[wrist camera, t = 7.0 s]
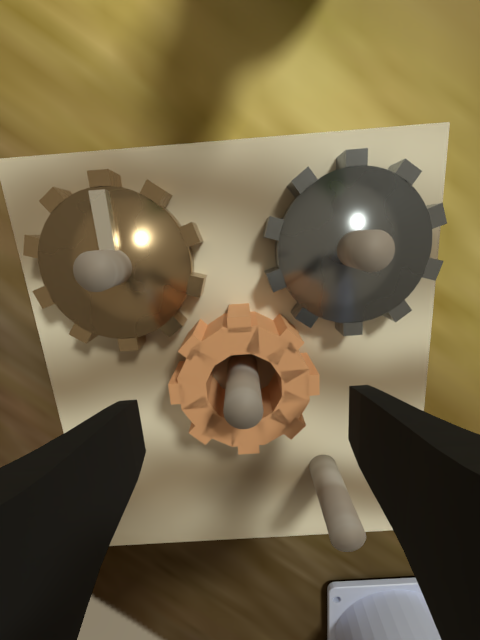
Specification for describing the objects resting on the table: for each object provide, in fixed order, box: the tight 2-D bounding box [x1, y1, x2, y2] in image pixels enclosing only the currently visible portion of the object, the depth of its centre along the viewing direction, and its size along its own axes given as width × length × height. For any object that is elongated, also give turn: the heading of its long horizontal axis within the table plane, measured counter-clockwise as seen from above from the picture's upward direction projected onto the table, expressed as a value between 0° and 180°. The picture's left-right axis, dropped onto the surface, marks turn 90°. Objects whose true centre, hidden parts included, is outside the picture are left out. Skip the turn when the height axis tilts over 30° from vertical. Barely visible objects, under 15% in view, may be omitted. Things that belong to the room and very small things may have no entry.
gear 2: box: [262, 148, 447, 336], centre depth 13 cm, size 7×7×1 cm
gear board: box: [0, 122, 450, 552], centre depth 13 cm, size 20×18×5 cm
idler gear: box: [168, 303, 320, 455], centre depth 14 cm, size 6×6×2 cm
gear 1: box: [23, 169, 207, 351], centre depth 13 cm, size 7×7×2 cm
